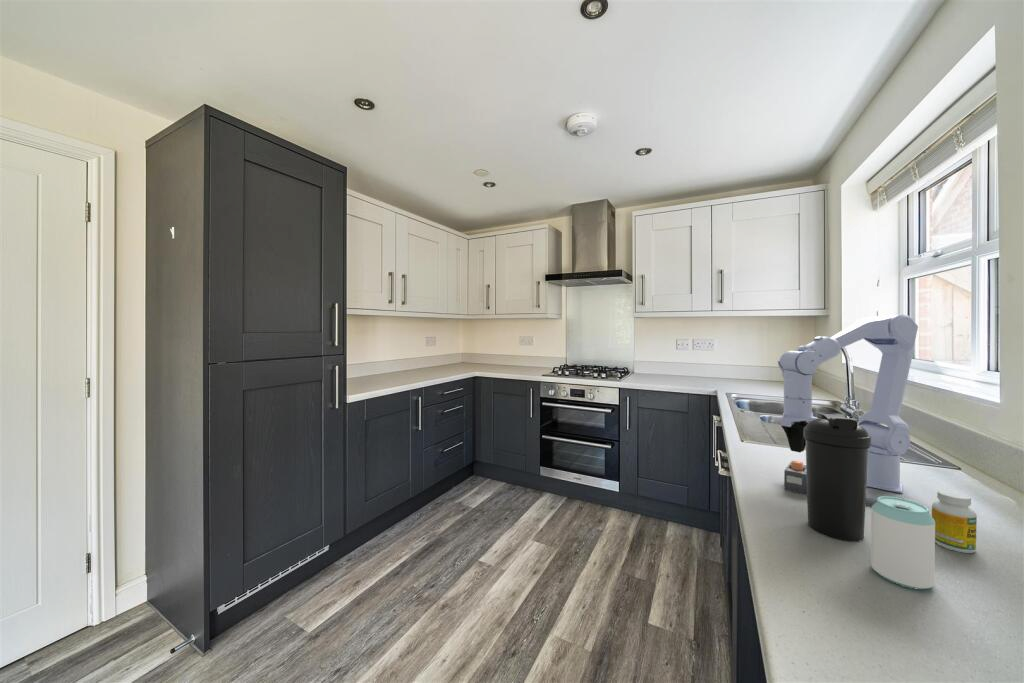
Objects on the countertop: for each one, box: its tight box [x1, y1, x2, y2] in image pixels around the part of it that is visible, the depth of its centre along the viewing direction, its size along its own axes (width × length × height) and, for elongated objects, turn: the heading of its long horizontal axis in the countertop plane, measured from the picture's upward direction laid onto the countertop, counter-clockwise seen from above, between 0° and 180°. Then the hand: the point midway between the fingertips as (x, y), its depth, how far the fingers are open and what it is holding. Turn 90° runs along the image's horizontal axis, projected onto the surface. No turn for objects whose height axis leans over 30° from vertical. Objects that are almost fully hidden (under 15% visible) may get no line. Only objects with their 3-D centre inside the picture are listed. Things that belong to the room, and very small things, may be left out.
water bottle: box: [803, 411, 871, 542], centre depth 75 cm, size 10×10×23 cm
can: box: [870, 495, 936, 590], centre depth 60 cm, size 7×7×12 cm
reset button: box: [790, 460, 804, 471], centre depth 96 cm, size 2×2×4 cm
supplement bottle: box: [931, 489, 978, 554], centre depth 69 cm, size 5×5×10 cm
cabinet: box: [783, 462, 807, 496], centre depth 96 cm, size 8×6×5 cm
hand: (797, 450), depth 96 cm, fingers closed
